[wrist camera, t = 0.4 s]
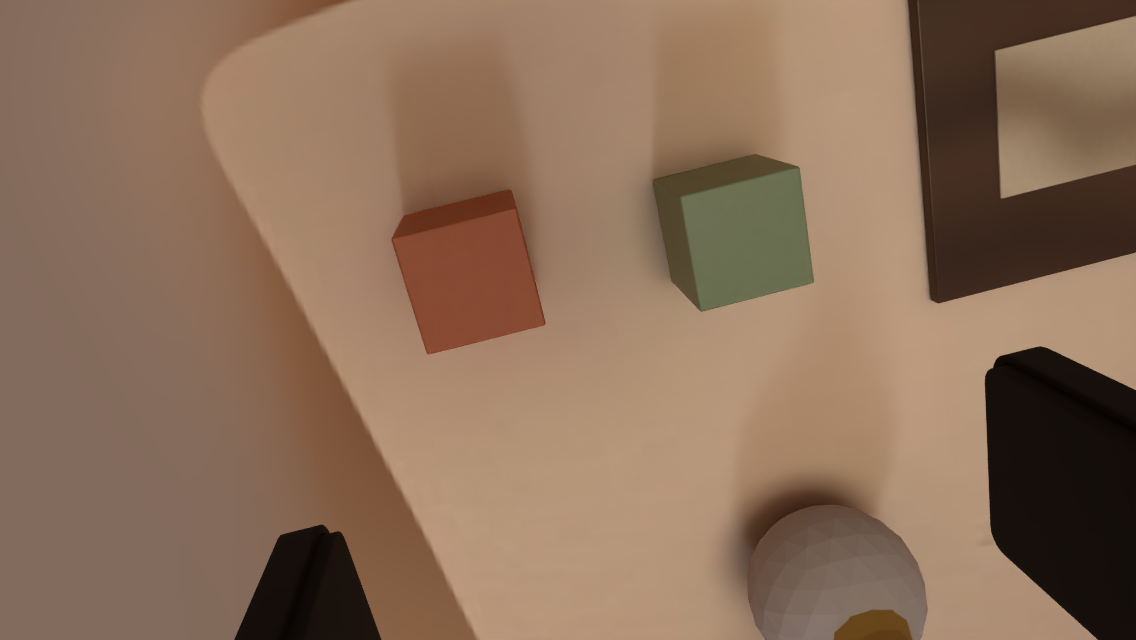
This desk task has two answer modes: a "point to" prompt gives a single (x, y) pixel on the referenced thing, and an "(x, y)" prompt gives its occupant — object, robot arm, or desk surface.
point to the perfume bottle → (835, 579)
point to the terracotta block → (468, 272)
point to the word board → (1024, 137)
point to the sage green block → (735, 230)
